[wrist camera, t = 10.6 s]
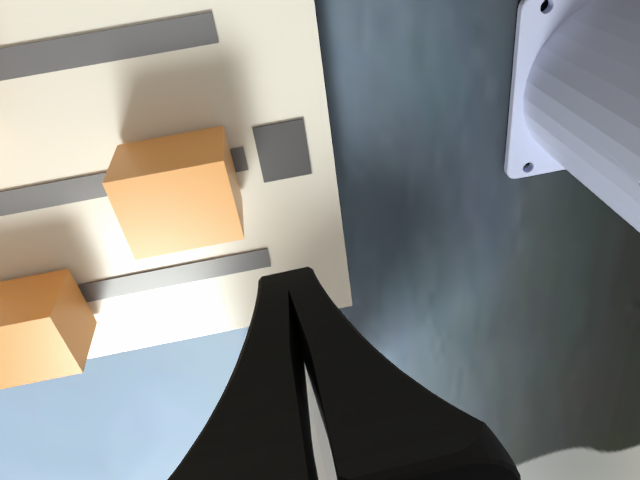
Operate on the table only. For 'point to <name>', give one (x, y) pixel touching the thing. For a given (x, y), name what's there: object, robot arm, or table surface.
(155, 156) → the tab middle
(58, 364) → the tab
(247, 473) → the robot arm
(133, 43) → the switch board
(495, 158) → the table surface
